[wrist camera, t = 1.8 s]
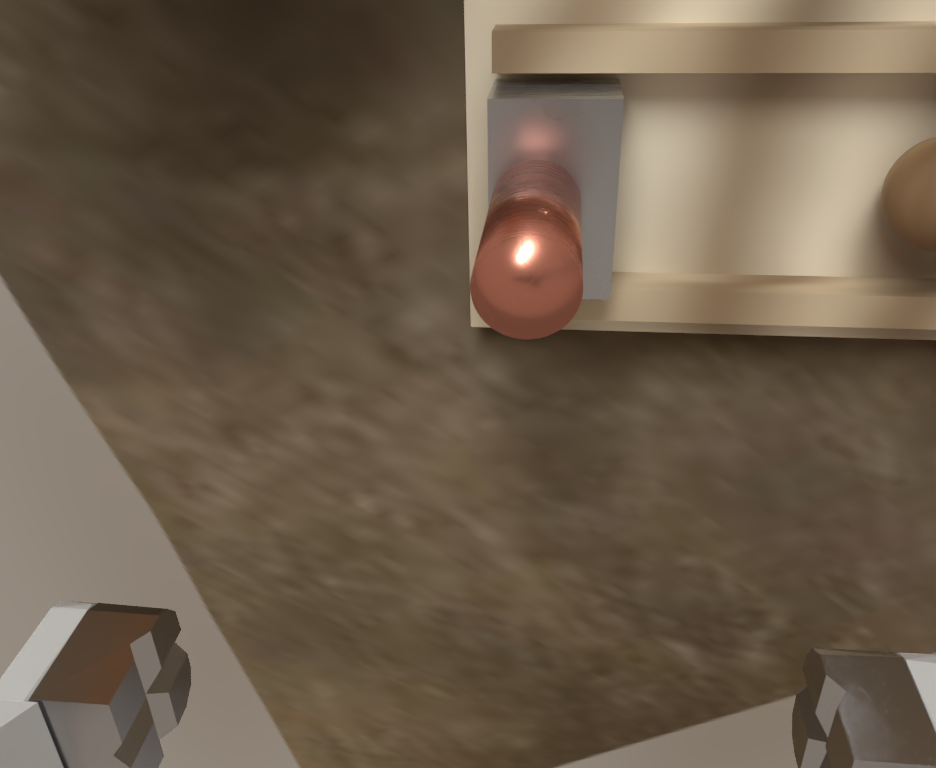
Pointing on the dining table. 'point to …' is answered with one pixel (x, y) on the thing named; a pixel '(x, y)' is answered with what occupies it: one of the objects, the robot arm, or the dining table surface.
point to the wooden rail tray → (736, 155)
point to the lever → (548, 202)
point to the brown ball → (912, 196)
